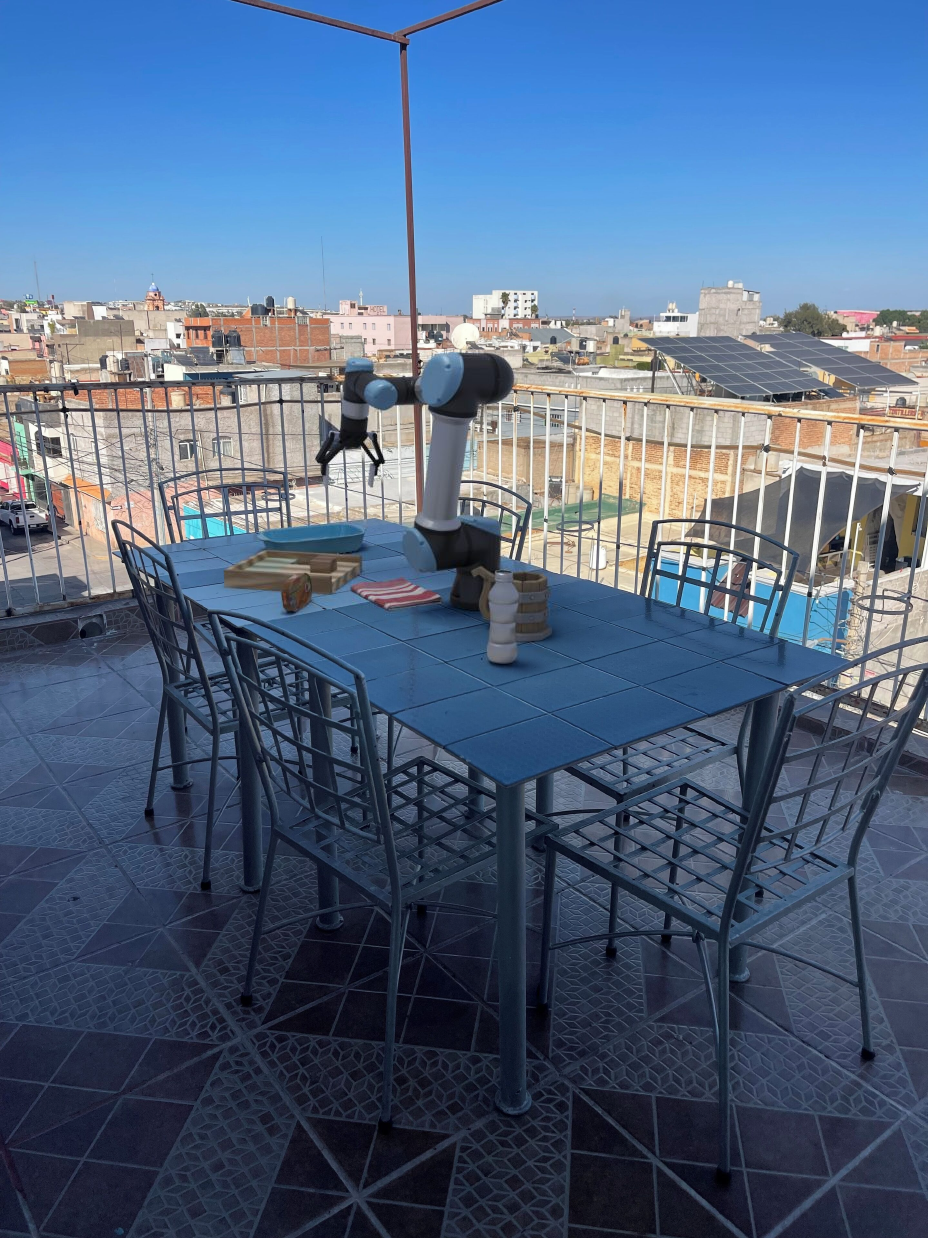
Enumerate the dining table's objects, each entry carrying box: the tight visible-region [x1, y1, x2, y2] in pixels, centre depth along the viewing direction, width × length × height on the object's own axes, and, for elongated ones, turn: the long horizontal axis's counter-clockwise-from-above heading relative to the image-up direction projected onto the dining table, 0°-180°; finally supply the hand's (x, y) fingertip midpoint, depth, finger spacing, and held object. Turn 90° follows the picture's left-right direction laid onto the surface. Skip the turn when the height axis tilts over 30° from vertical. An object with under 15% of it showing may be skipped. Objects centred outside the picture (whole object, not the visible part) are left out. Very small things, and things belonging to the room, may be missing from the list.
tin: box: [280, 573, 313, 613], centre depth 220 cm, size 15×3×8 cm, turn 168°
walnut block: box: [310, 556, 337, 574], centre depth 246 cm, size 6×6×4 cm
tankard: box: [471, 566, 553, 643], centre depth 202 cm, size 20×13×15 cm, turn 59°
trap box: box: [223, 549, 363, 595], centre depth 248 cm, size 27×32×5 cm
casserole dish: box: [256, 522, 367, 554], centre depth 285 cm, size 37×22×7 cm, turn 118°
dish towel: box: [350, 577, 443, 612], centre depth 232 cm, size 17×23×3 cm
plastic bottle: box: [486, 569, 519, 665], centre depth 180 cm, size 6×7×20 cm
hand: (348, 485), depth 248 cm, fingers open, 13 cm apart
